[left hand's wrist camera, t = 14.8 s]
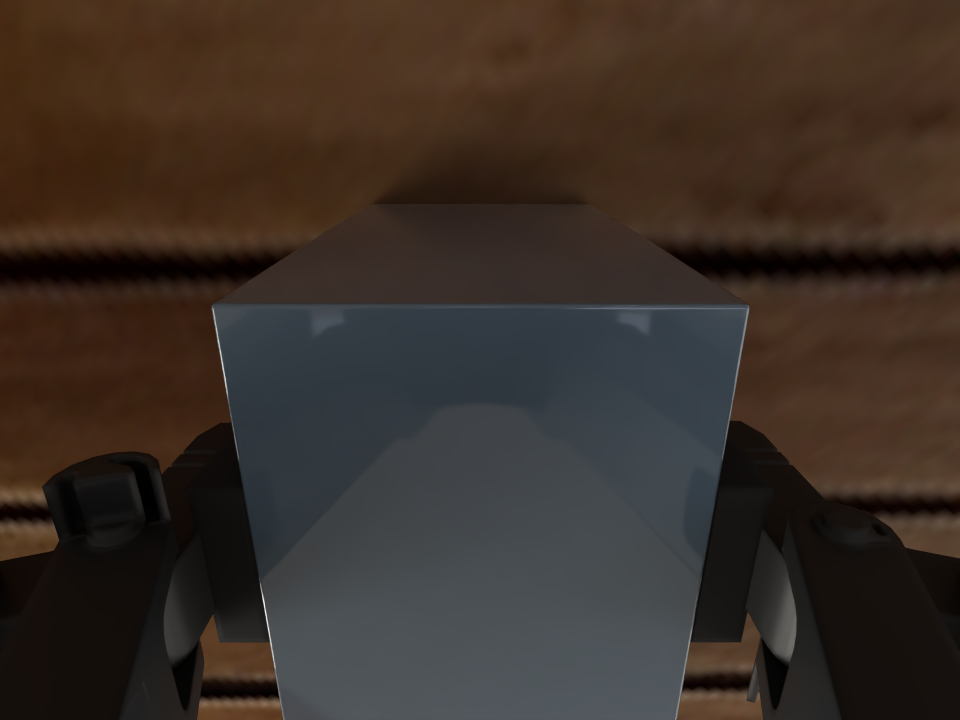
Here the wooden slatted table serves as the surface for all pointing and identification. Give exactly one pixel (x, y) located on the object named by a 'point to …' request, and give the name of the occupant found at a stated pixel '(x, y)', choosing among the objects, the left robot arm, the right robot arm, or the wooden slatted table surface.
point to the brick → (480, 461)
